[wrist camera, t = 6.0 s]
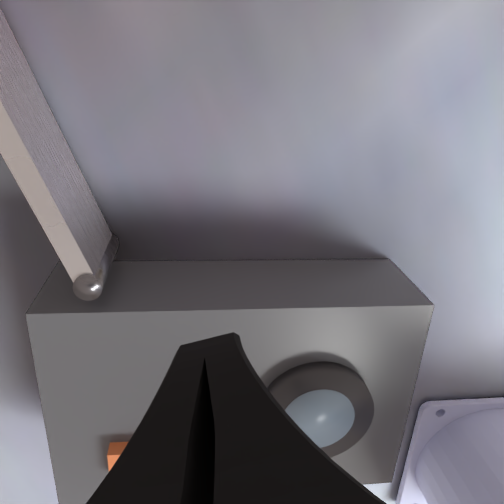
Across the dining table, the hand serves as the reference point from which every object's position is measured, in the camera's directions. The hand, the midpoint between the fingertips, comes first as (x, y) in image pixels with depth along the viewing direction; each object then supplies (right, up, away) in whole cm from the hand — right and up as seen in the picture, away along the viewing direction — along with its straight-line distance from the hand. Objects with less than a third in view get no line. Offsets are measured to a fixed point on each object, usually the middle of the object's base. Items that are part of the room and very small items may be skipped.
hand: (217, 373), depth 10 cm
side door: (-7, +7, +6) cm, 11 cm away
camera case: (0, -2, +11) cm, 11 cm away
